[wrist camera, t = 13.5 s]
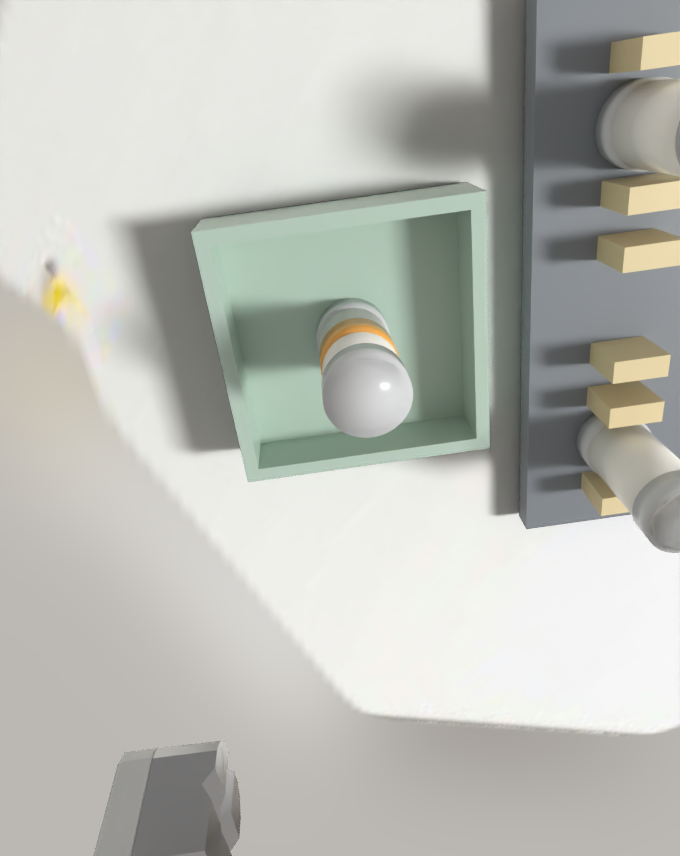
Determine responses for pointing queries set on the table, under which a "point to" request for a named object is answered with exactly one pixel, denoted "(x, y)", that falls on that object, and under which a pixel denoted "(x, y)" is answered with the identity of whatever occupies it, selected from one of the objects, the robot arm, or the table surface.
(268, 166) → the table surface
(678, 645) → the table surface
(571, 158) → the fuse holder
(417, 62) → the table surface
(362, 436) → the marked fuse
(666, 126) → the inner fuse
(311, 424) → the parts tray
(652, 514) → the outer fuse
